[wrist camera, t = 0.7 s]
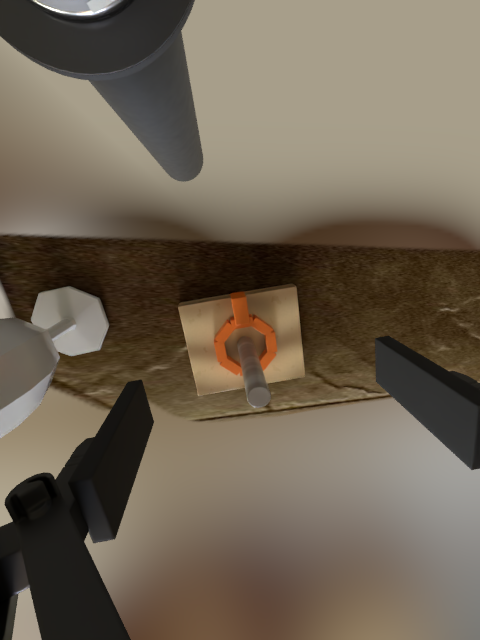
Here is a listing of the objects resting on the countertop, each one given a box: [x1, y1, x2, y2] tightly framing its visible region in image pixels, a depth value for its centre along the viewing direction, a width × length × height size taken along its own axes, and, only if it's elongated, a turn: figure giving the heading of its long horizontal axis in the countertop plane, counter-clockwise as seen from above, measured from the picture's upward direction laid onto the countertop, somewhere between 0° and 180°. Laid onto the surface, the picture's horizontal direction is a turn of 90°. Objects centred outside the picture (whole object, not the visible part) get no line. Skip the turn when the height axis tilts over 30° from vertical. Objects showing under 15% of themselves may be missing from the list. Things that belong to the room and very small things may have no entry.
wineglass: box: [0, 286, 109, 438], centre depth 25 cm, size 9×9×21 cm
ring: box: [214, 291, 277, 376], centre depth 33 cm, size 10×7×3 cm
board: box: [178, 284, 305, 407], centre depth 31 cm, size 12×14×14 cm
